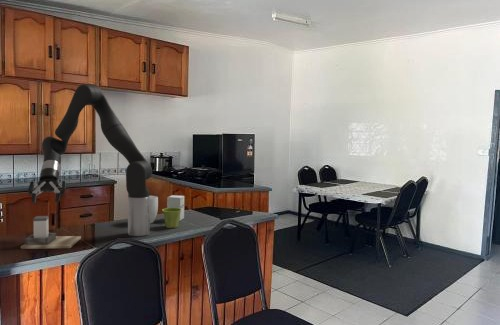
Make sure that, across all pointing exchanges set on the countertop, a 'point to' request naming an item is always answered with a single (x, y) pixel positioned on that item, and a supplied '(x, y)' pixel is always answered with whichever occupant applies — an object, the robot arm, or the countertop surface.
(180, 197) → the supplement box
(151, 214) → the mug
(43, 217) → the block
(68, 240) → the board
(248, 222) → the countertop surface
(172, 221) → the plant pot
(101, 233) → the countertop surface
